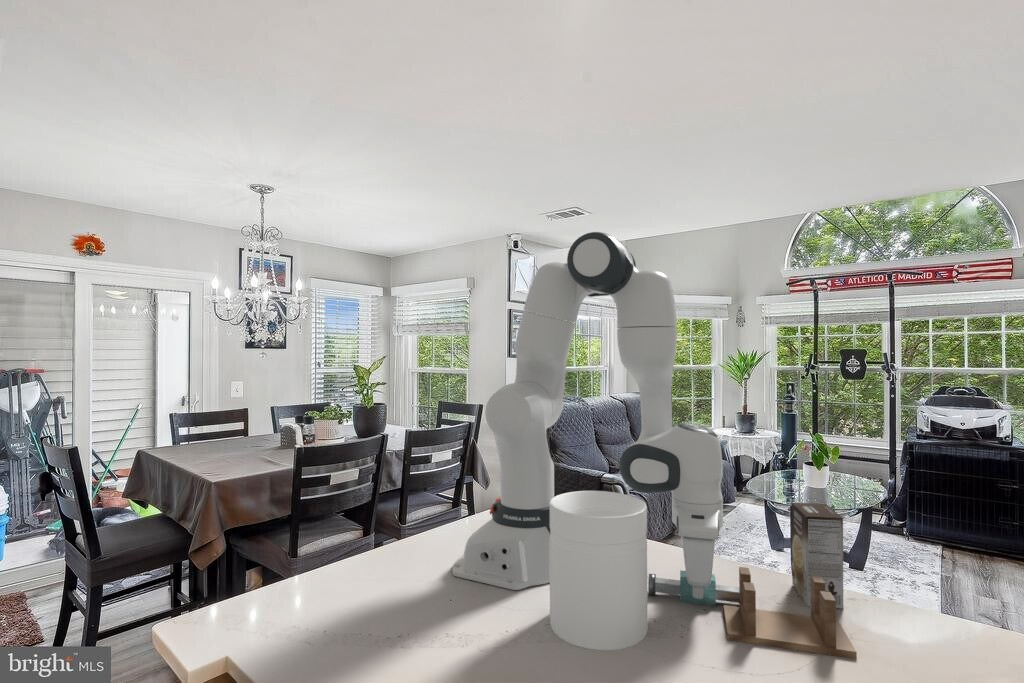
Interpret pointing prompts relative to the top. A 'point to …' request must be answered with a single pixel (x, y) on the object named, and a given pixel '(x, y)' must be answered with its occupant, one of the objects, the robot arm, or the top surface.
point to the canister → (598, 569)
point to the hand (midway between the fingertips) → (697, 590)
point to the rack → (788, 622)
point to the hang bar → (686, 590)
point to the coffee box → (817, 549)
